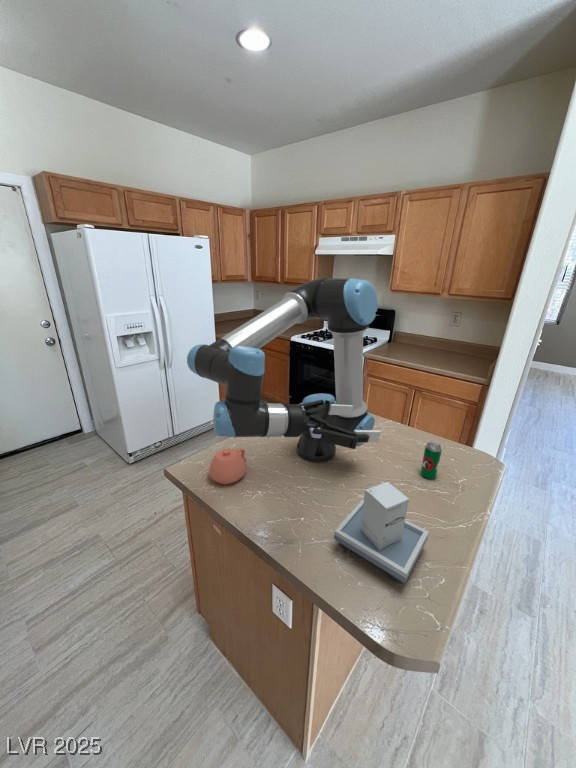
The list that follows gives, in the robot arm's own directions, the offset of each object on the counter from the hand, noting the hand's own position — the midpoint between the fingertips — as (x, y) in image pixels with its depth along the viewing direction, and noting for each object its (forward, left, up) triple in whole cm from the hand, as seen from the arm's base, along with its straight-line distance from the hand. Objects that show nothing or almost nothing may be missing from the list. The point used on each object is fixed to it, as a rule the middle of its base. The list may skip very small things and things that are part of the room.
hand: (364, 422), depth 78 cm
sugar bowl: (-42, -10, -31) cm, 53 cm away
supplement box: (+10, -5, -26) cm, 29 cm away
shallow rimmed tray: (+10, -5, -31) cm, 33 cm away
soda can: (+10, +34, -31) cm, 47 cm away
